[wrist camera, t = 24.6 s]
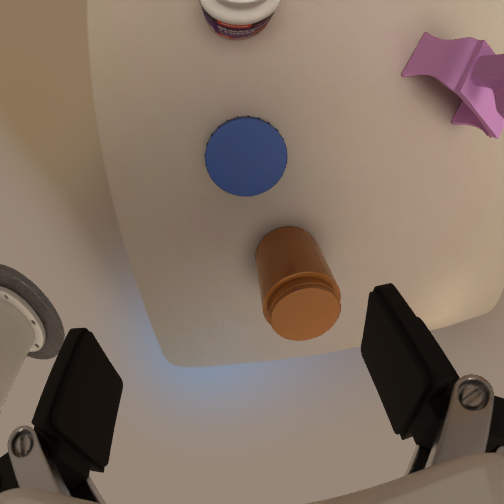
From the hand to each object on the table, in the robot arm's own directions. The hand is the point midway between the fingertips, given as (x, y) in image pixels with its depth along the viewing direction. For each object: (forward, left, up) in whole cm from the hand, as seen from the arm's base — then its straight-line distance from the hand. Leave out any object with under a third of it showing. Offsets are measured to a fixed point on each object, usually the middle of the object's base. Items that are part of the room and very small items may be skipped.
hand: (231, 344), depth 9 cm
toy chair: (+23, +9, -20) cm, 31 cm away
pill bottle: (+3, +15, -20) cm, 25 cm away
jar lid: (+2, +2, -19) cm, 19 cm away
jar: (+5, -9, -20) cm, 23 cm away
